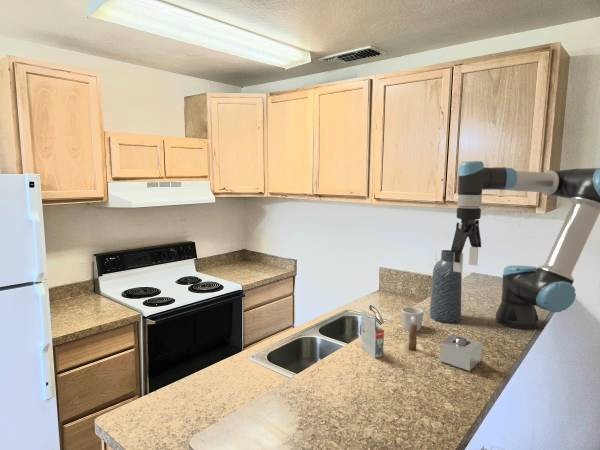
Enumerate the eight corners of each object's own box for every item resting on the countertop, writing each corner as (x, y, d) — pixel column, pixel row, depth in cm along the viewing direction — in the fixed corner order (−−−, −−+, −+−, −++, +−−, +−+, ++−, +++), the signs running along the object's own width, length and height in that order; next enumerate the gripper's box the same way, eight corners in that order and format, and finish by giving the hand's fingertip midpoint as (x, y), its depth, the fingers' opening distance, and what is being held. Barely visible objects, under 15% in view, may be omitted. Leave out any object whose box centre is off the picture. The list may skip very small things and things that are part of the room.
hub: (466, 359, 122) (467, 333, 121) (477, 371, 115) (478, 344, 114) (442, 359, 122) (443, 334, 121) (452, 371, 115) (453, 344, 114)
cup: (424, 338, 138) (425, 317, 137) (401, 336, 140) (402, 315, 139) (421, 327, 149) (422, 307, 148) (400, 325, 150) (400, 305, 149)
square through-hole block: (480, 360, 118) (481, 342, 118) (469, 370, 112) (470, 351, 111) (452, 351, 125) (453, 333, 124) (439, 360, 118) (440, 342, 118)
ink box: (369, 349, 130) (370, 307, 128) (383, 359, 123) (385, 315, 121) (360, 351, 128) (361, 309, 126) (374, 361, 121) (375, 317, 119)
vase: (431, 311, 166) (434, 247, 163) (461, 315, 161) (464, 249, 158) (427, 320, 156) (430, 252, 152) (460, 325, 150) (463, 255, 147)
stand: (420, 346, 131) (421, 320, 130) (428, 357, 124) (429, 329, 122) (397, 346, 131) (398, 320, 130) (403, 357, 123) (404, 329, 122)
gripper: (471, 204, 141) (468, 260, 144) (442, 208, 123) (439, 272, 126) (493, 205, 136) (489, 264, 138) (465, 210, 118) (462, 276, 121)
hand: (465, 268), depth 132 cm, fingers open, 13 cm apart
